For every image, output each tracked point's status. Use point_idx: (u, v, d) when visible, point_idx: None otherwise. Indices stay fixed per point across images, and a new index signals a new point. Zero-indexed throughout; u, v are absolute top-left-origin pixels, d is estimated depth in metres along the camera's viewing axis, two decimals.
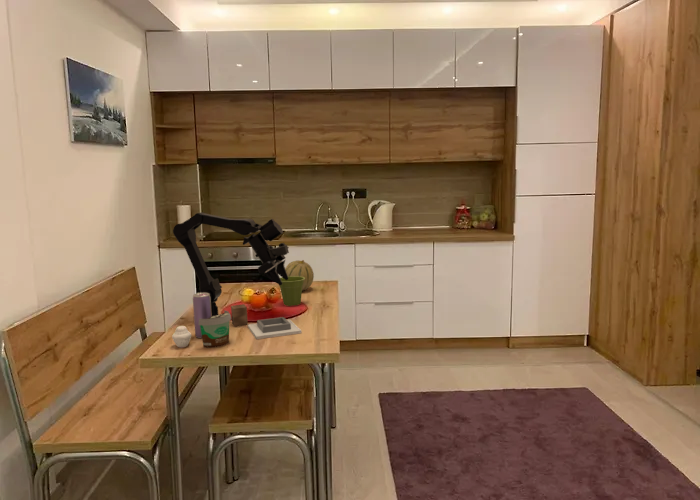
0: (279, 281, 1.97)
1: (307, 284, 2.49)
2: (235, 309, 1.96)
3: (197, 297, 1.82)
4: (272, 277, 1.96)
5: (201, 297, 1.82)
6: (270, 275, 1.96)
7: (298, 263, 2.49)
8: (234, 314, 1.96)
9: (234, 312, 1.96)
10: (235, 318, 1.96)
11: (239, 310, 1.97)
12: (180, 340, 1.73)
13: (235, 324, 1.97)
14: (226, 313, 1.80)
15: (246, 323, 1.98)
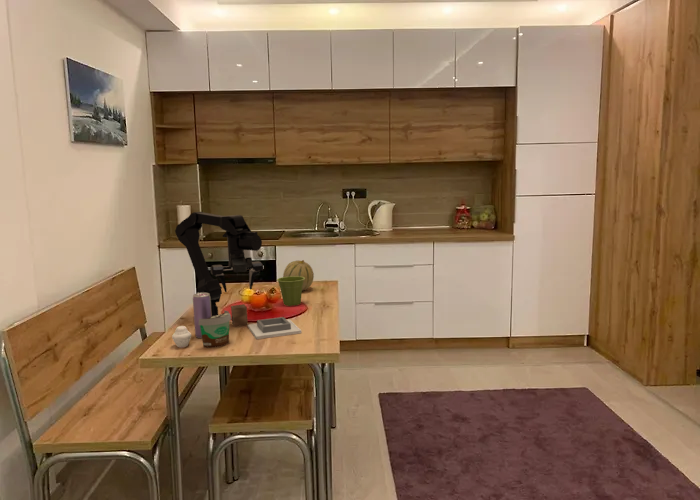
0: (224, 288, 1.96)
1: (307, 284, 2.49)
2: (235, 309, 1.96)
3: (197, 297, 1.82)
4: (221, 281, 1.96)
5: (201, 297, 1.82)
6: None
7: (298, 263, 2.49)
8: (234, 314, 1.96)
9: (234, 312, 1.96)
10: (235, 318, 1.96)
11: (239, 310, 1.97)
12: (180, 340, 1.73)
13: (235, 324, 1.97)
14: (226, 313, 1.80)
15: (246, 323, 1.98)
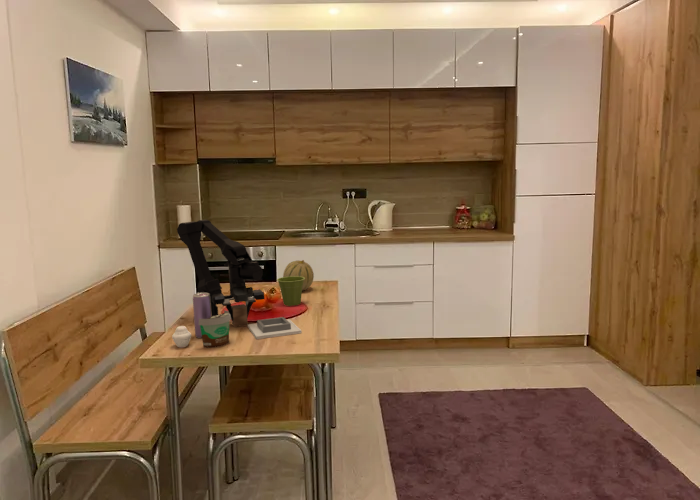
0: None
1: (307, 284, 2.49)
2: (235, 309, 1.96)
3: (197, 297, 1.82)
4: (227, 309, 1.98)
5: (201, 297, 1.82)
6: (227, 306, 1.98)
7: (298, 263, 2.49)
8: (234, 314, 1.96)
9: (234, 312, 1.96)
10: (235, 318, 1.96)
11: (239, 310, 1.97)
12: (180, 340, 1.73)
13: (235, 324, 1.97)
14: (226, 313, 1.80)
15: (246, 323, 1.98)
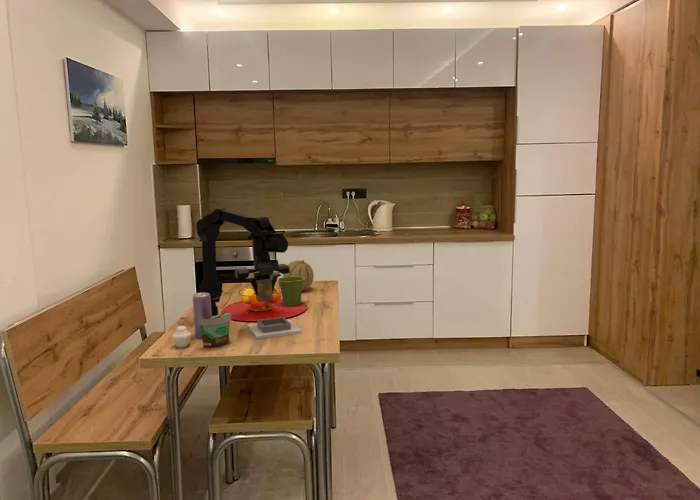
0: (255, 292, 1.90)
1: (307, 284, 2.49)
2: (260, 283, 1.88)
3: (197, 297, 1.82)
4: (252, 284, 1.90)
5: (201, 297, 1.82)
6: (251, 281, 1.90)
7: (298, 263, 2.49)
8: (259, 288, 1.88)
9: (259, 286, 1.88)
10: (260, 293, 1.88)
11: (264, 284, 1.88)
12: (180, 340, 1.73)
13: (260, 299, 1.89)
14: (226, 313, 1.80)
15: (271, 298, 1.90)
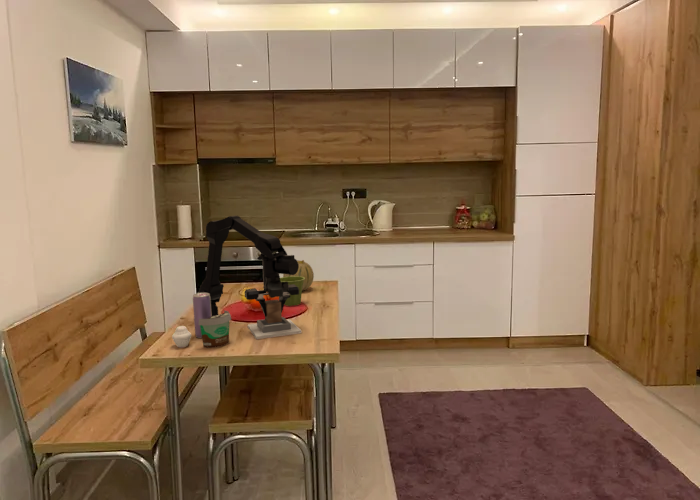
0: (264, 312, 1.89)
1: (307, 284, 2.49)
2: (269, 304, 1.87)
3: (197, 297, 1.82)
4: (261, 305, 1.89)
5: (201, 297, 1.82)
6: (260, 302, 1.89)
7: (298, 263, 2.49)
8: (268, 310, 1.87)
9: (268, 307, 1.87)
10: (269, 314, 1.87)
11: (273, 305, 1.88)
12: (180, 340, 1.73)
13: (269, 320, 1.88)
14: (226, 313, 1.80)
15: (280, 319, 1.89)
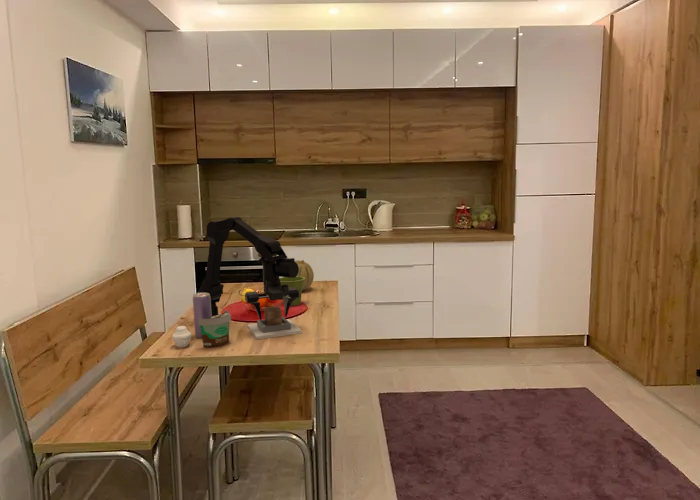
0: None
1: (307, 284, 2.49)
2: (269, 311, 1.87)
3: (197, 297, 1.82)
4: (256, 308, 1.89)
5: (201, 297, 1.82)
6: (255, 305, 1.89)
7: (298, 263, 2.49)
8: (268, 316, 1.87)
9: (268, 314, 1.87)
10: (269, 321, 1.88)
11: (273, 312, 1.88)
12: (180, 340, 1.73)
13: None
14: (226, 313, 1.80)
15: None
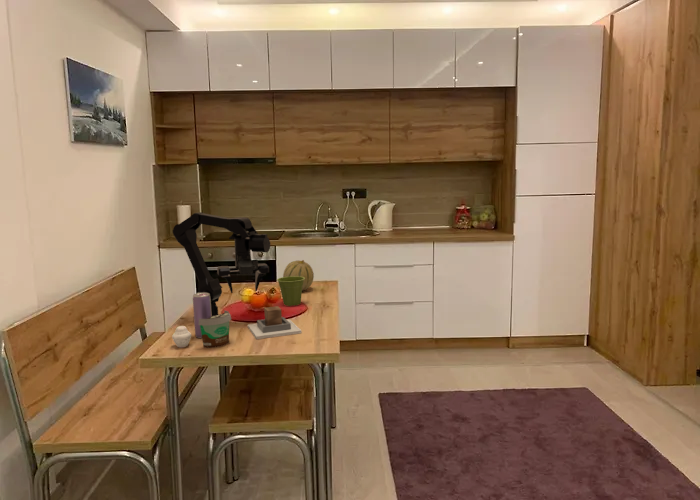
0: (230, 289, 1.99)
1: (307, 284, 2.49)
2: (269, 311, 1.87)
3: (197, 297, 1.82)
4: (227, 282, 2.00)
5: (201, 297, 1.82)
6: None
7: (298, 263, 2.49)
8: (268, 316, 1.87)
9: (268, 314, 1.87)
10: (269, 321, 1.88)
11: (273, 312, 1.88)
12: (180, 340, 1.73)
13: None
14: (226, 313, 1.80)
15: None
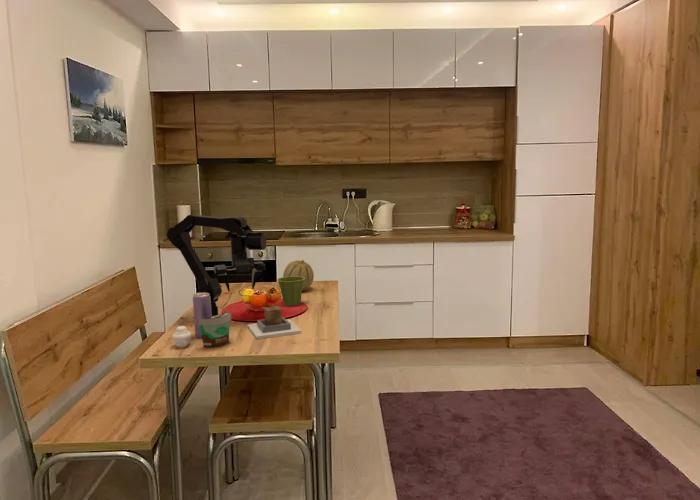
0: (227, 288, 2.01)
1: (307, 284, 2.49)
2: (269, 311, 1.87)
3: (197, 297, 1.82)
4: (224, 280, 2.01)
5: (201, 297, 1.82)
6: None
7: (298, 263, 2.49)
8: (268, 316, 1.87)
9: (268, 314, 1.87)
10: (269, 321, 1.88)
11: (273, 312, 1.88)
12: (180, 340, 1.73)
13: None
14: (226, 313, 1.80)
15: None
